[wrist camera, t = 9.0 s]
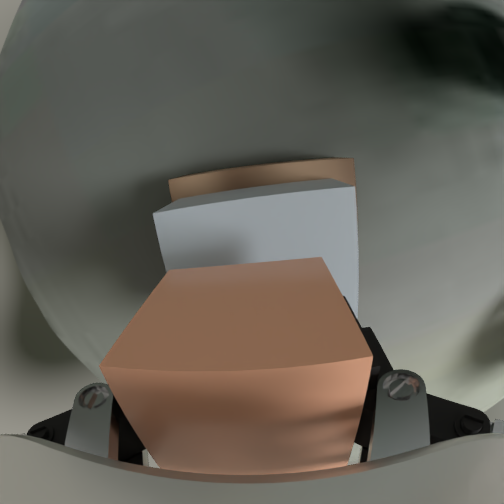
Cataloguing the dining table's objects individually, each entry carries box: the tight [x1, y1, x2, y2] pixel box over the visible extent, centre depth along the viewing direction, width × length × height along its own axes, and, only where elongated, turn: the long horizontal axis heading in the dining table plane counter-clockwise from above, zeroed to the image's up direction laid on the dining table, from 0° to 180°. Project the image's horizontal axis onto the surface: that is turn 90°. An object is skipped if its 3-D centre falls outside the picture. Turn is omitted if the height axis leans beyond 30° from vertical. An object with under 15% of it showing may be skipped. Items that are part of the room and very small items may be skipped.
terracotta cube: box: [99, 257, 373, 475], centre depth 8 cm, size 6×6×6 cm
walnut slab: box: [168, 158, 358, 226], centre depth 20 cm, size 11×11×4 cm
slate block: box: [153, 178, 359, 319], centre depth 16 cm, size 9×9×4 cm
